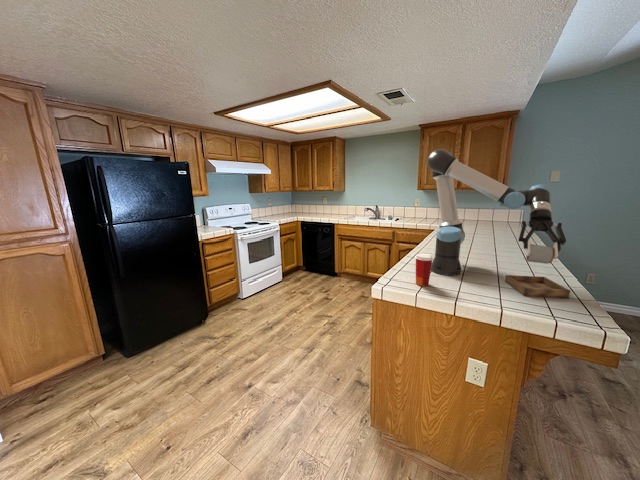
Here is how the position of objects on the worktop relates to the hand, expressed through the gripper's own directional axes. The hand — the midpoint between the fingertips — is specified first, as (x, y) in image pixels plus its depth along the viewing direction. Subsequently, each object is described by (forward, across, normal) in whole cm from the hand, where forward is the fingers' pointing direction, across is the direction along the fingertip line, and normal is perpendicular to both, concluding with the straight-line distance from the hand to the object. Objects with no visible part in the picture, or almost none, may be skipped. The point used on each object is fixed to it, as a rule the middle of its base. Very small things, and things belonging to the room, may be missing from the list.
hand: (541, 256), depth 107 cm
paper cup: (+21, -44, +2) cm, 49 cm away
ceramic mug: (-1, 0, +6) cm, 6 cm away
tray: (+9, 0, +14) cm, 17 cm away
